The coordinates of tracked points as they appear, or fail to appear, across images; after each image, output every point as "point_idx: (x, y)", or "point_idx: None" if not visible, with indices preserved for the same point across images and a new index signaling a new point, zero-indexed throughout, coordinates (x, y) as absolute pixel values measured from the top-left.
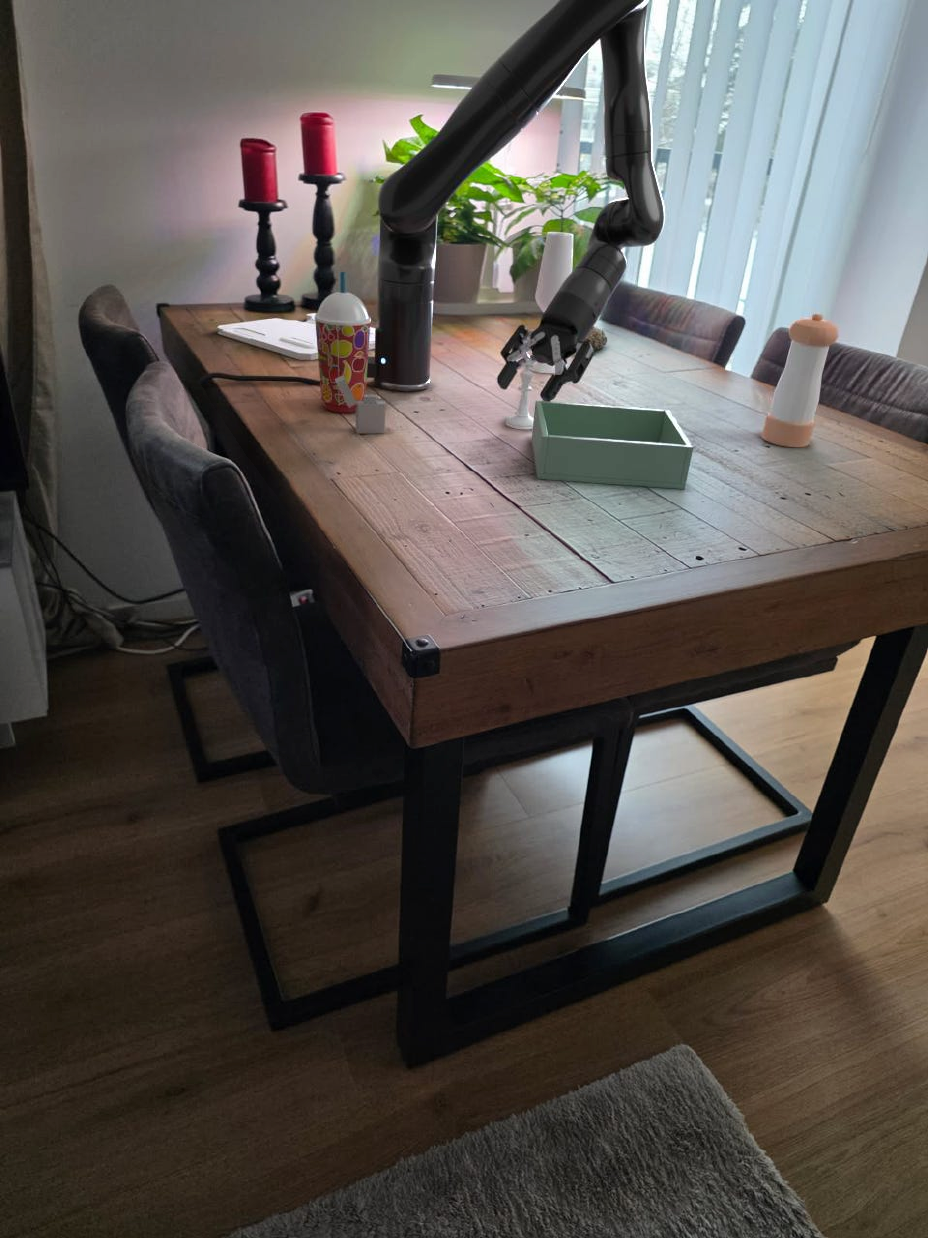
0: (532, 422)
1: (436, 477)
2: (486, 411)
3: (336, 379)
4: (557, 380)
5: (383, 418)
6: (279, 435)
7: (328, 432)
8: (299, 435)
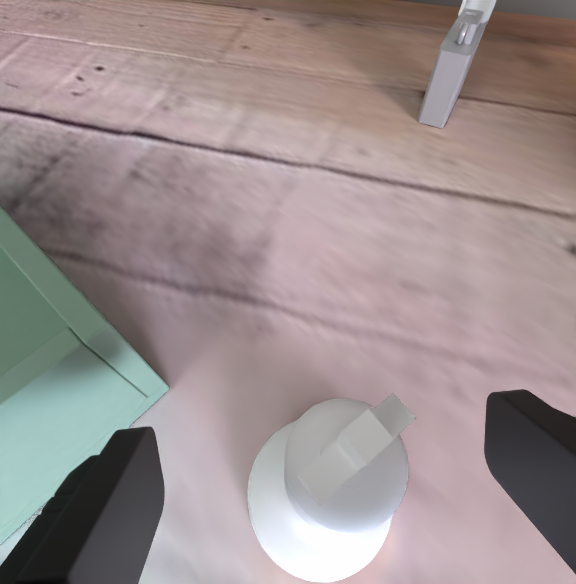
0: (257, 498)
1: (158, 84)
2: None
3: None
4: (10, 571)
5: (428, 85)
6: None
7: None
8: None
